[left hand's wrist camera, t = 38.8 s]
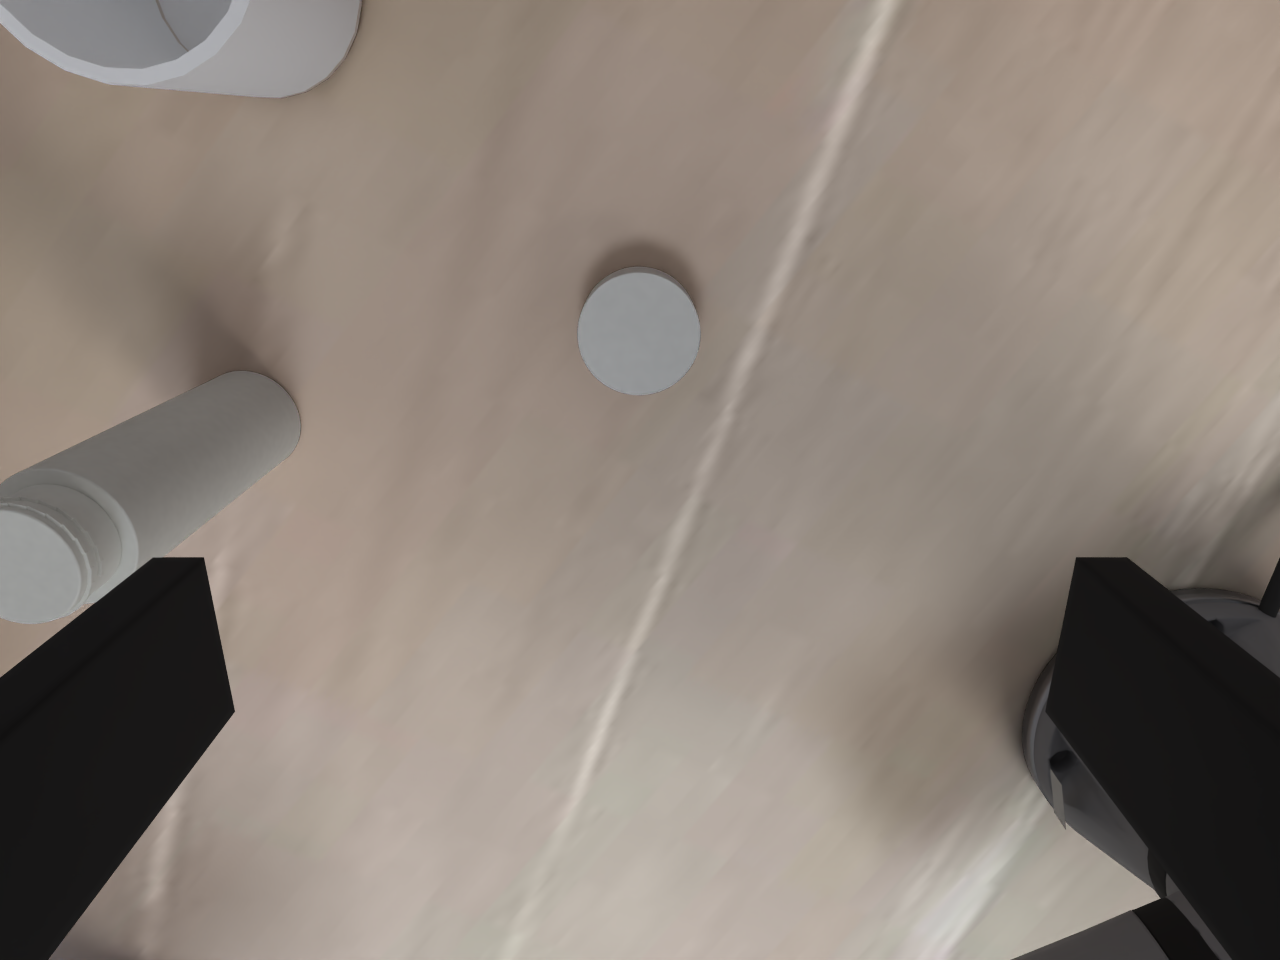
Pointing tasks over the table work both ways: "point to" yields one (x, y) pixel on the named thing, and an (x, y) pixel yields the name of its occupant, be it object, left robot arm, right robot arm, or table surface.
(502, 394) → the table surface
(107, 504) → the grey bottle
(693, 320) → the lid
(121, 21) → the mug
